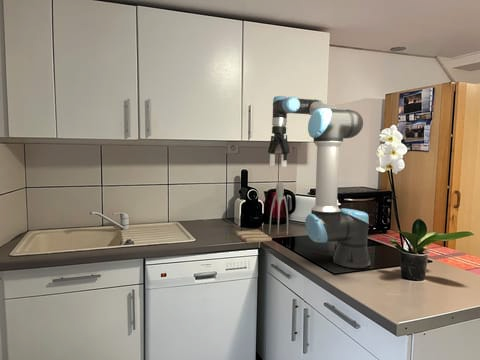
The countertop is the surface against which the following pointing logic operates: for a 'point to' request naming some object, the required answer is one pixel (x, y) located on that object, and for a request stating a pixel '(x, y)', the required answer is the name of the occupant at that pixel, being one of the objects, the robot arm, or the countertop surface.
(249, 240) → the trivet
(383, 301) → the countertop surface
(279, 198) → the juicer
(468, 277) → the countertop surface
